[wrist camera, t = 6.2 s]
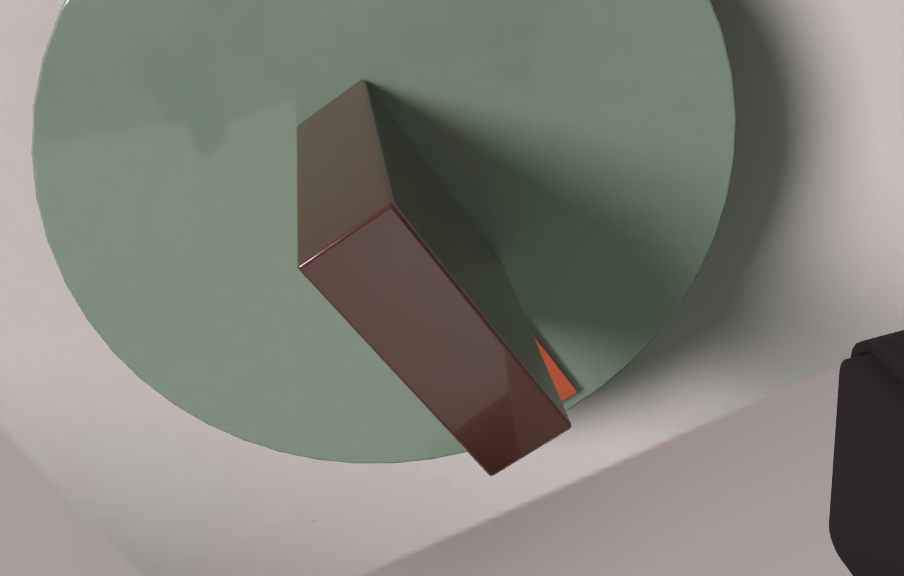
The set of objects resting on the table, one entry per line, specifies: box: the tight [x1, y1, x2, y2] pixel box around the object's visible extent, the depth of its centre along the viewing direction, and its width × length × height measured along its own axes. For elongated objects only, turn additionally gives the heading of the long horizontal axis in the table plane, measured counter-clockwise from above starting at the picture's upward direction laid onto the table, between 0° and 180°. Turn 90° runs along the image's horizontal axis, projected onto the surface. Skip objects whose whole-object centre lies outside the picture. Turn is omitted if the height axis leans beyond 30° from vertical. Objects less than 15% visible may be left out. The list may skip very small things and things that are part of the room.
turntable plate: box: [32, 0, 736, 476], centre depth 16 cm, size 14×14×7 cm
